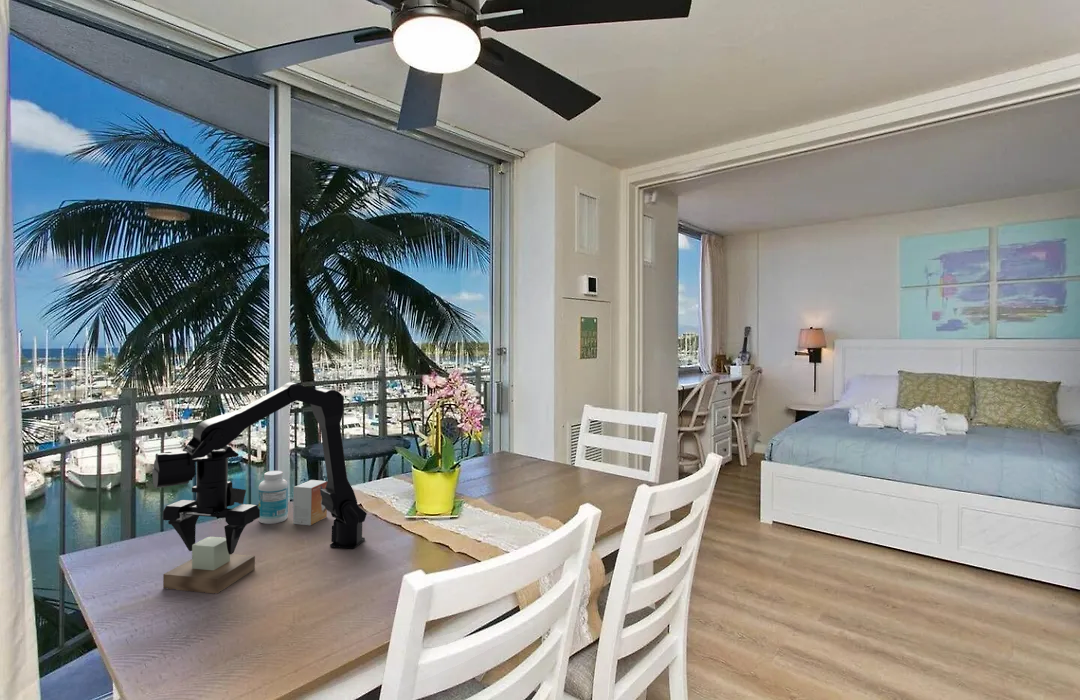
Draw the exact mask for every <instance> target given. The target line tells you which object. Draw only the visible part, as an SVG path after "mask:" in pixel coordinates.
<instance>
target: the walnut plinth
mask: <svg viewBox="0 0 1080 700" xmlns="http://www.w3.org/2000/svg"><path fill="white" fill-rule="evenodd" d="M255 564H256V555H250V554H249V555H248V554H237V553H233V554H231V555H230V561H229V562H227V563H226V564H224V565H222V566H220V567H219V568H217V569H215V570H203V569H192V558H191V559H190V560H188V561H185V562H184V563H182V564H180V565H179V566H176V567H174V568H172V569H170V570H169V571H167V572H165V573H163V575H162V576H163V577H162V581H163V582H162V583H163V585H162V587H163V588H168V589H167V590H172V589H176V590H175V591H183V592H184V591H185V592H193V591H194V593H204V592H205V593H206V594H214V593H217V594H219V593H220V591H221V592H222V591H224V590H225V589H227V588H228V587H229V586H232V585H233V584H234V583H236V582H237V581H239V580H241V579H242V578H243V577H245V576H246V575H248V574H249V573H251V572H253V571H255V569H256V565H255Z"/></svg>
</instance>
